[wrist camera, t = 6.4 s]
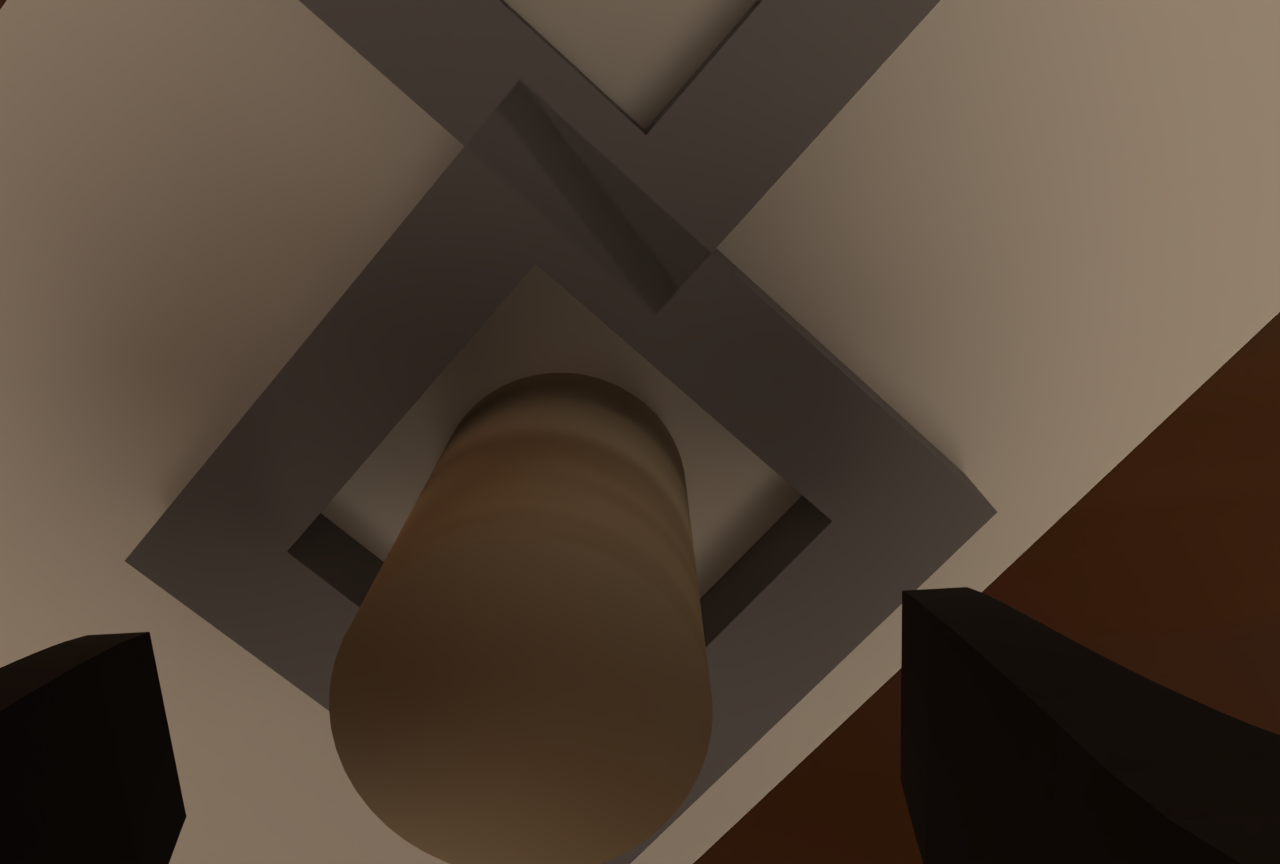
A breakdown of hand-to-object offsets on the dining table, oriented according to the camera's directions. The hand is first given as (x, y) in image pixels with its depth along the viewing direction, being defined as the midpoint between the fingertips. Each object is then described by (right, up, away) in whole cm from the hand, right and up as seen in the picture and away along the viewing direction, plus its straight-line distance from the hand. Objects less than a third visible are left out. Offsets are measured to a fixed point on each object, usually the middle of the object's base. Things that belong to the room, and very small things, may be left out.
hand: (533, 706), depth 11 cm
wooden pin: (0, +2, +5) cm, 6 cm away
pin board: (0, +5, +5) cm, 7 cm away
